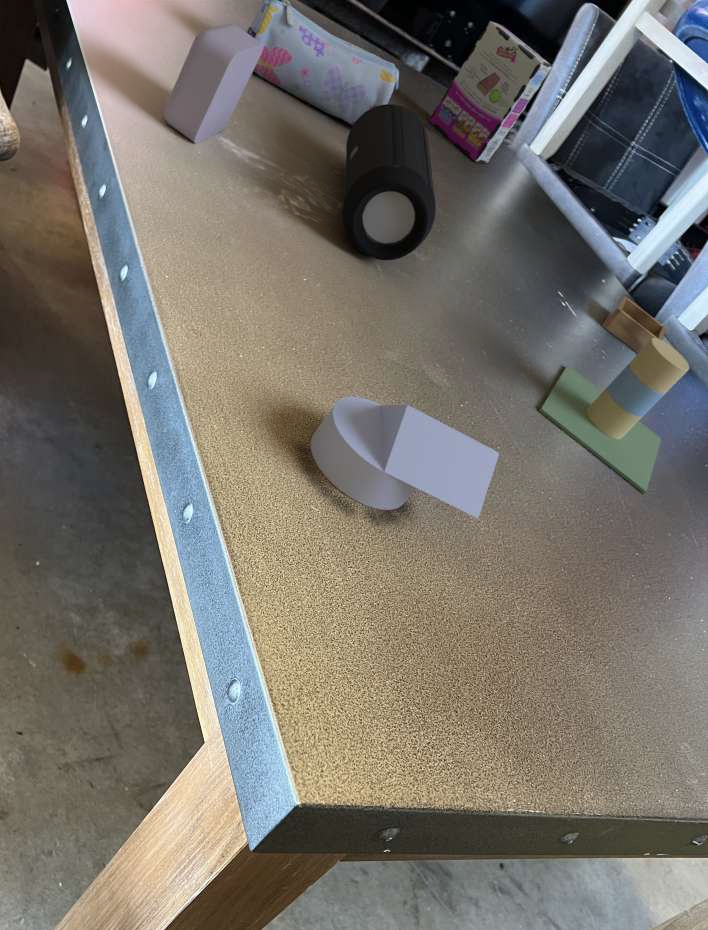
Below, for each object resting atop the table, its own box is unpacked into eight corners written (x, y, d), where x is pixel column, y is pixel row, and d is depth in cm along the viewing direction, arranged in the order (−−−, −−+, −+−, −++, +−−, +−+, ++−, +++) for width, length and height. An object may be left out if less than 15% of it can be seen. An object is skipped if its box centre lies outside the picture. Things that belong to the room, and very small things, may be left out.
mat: (659, 441, 113) (661, 438, 113) (643, 494, 101) (646, 491, 101) (565, 367, 114) (567, 364, 114) (538, 411, 101) (541, 408, 101)
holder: (650, 344, 136) (666, 328, 135) (645, 359, 131) (661, 342, 129) (609, 312, 137) (624, 295, 135) (601, 325, 131) (617, 308, 129)
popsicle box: (488, 164, 157) (555, 67, 146) (474, 163, 153) (542, 63, 143) (441, 122, 159) (503, 23, 149) (426, 120, 156) (489, 18, 145)
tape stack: (624, 429, 109) (691, 361, 103) (618, 445, 105) (687, 375, 99) (589, 402, 109) (654, 332, 103) (582, 416, 105) (649, 345, 99)
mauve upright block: (190, 105, 109) (230, 16, 103) (224, 129, 109) (266, 43, 103) (154, 119, 101) (195, 24, 95) (191, 145, 102) (234, 53, 95)
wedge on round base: (444, 478, 82) (312, 411, 79) (493, 420, 78) (356, 347, 74) (452, 547, 76) (308, 478, 72) (506, 488, 71) (356, 411, 68)
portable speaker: (331, 157, 121) (374, 81, 115) (397, 197, 124) (443, 124, 117) (323, 240, 103) (374, 155, 96) (401, 285, 105) (456, 205, 99)
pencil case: (231, 67, 125) (266, -8, 119) (234, 46, 131) (267, -25, 125) (368, 147, 131) (407, 80, 125) (365, 124, 137) (403, 59, 131)
